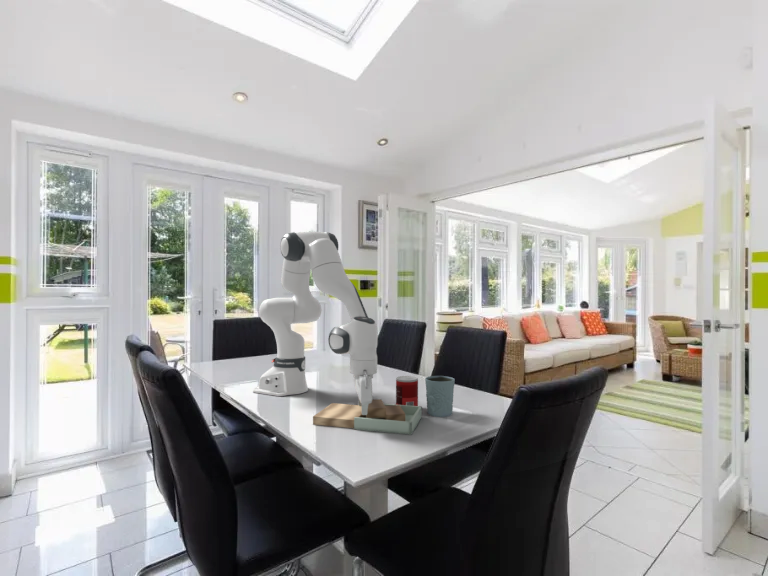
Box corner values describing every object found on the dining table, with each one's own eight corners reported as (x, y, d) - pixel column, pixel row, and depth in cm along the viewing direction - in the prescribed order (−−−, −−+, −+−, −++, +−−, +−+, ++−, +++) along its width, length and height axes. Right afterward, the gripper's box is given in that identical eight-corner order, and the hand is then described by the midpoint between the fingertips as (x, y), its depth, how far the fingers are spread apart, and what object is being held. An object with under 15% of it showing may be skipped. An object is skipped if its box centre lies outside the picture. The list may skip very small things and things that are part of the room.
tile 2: (386, 424, 131) (386, 414, 131) (381, 414, 141) (381, 405, 141) (405, 423, 132) (405, 414, 132) (399, 414, 142) (399, 405, 142)
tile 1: (366, 417, 131) (367, 408, 131) (363, 408, 141) (363, 399, 141) (385, 417, 132) (385, 407, 132) (381, 408, 142) (381, 399, 142)
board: (313, 424, 133) (313, 416, 133) (332, 410, 148) (332, 403, 148) (355, 428, 129) (355, 420, 129) (370, 413, 144) (370, 406, 144)
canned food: (421, 407, 151) (421, 377, 151) (410, 413, 145) (410, 381, 145) (403, 404, 156) (403, 374, 156) (391, 409, 149) (391, 378, 149)
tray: (354, 429, 128) (354, 417, 128) (370, 412, 145) (370, 402, 145) (411, 434, 124) (411, 422, 124) (421, 416, 141) (421, 406, 141)
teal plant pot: (426, 417, 140) (426, 381, 140) (423, 408, 150) (423, 375, 150) (456, 417, 140) (456, 381, 140) (452, 408, 150) (452, 375, 150)
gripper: (377, 373, 126) (376, 419, 126) (369, 361, 146) (368, 401, 146) (356, 374, 125) (355, 420, 125) (351, 361, 145) (350, 401, 145)
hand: (362, 409), depth 136 cm, fingers open, 8 cm apart
